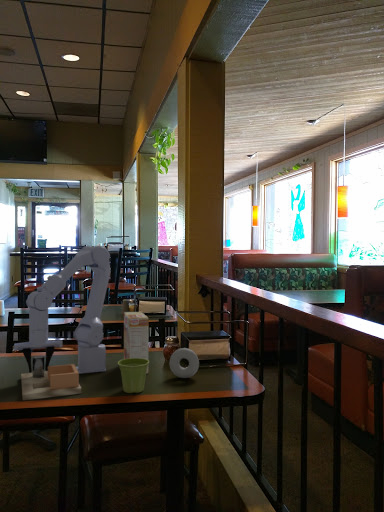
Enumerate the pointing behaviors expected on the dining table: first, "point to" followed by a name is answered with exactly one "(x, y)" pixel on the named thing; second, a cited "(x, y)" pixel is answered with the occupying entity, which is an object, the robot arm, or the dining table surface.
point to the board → (43, 388)
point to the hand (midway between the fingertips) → (38, 371)
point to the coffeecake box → (136, 335)
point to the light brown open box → (63, 376)
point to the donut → (189, 356)
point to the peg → (38, 367)
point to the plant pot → (133, 374)
